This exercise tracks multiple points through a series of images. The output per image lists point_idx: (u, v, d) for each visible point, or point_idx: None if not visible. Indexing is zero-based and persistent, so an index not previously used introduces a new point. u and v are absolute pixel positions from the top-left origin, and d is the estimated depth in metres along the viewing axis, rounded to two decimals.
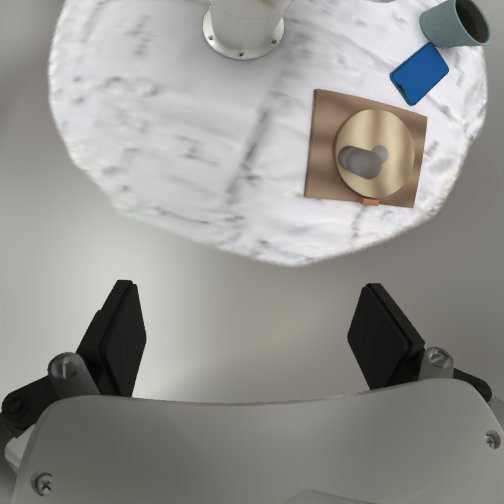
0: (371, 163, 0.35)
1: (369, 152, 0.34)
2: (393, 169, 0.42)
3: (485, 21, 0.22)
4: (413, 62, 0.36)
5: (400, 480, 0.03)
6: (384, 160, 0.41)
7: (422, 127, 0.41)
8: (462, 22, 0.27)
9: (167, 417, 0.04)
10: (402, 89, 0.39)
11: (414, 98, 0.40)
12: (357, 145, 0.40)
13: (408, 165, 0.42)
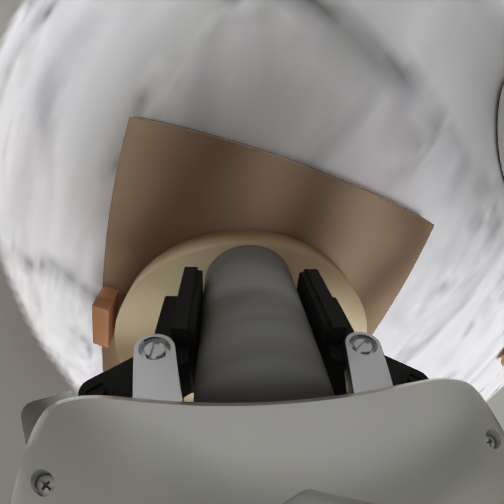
0: None
1: None
2: None
3: None
4: None
5: (400, 480, 0.03)
6: None
7: None
8: None
9: (167, 417, 0.04)
10: None
11: None
12: None
13: None
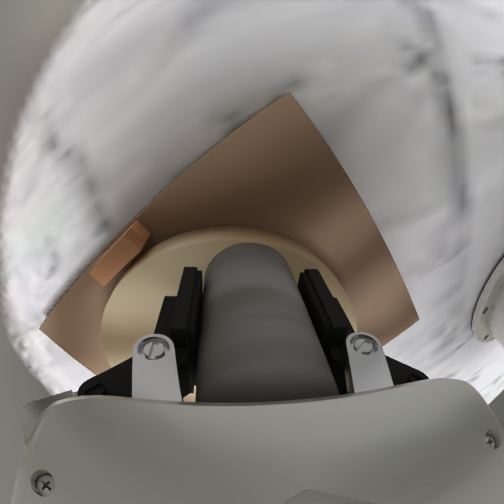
0: None
1: None
2: None
3: None
4: None
5: (400, 480, 0.03)
6: None
7: None
8: None
9: (167, 417, 0.04)
10: None
11: None
12: None
13: None
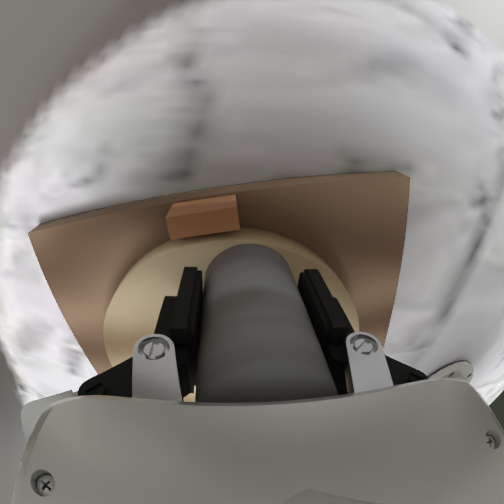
0: None
1: None
2: None
3: None
4: None
5: (400, 480, 0.03)
6: None
7: None
8: None
9: (167, 417, 0.04)
10: None
11: None
12: None
13: None
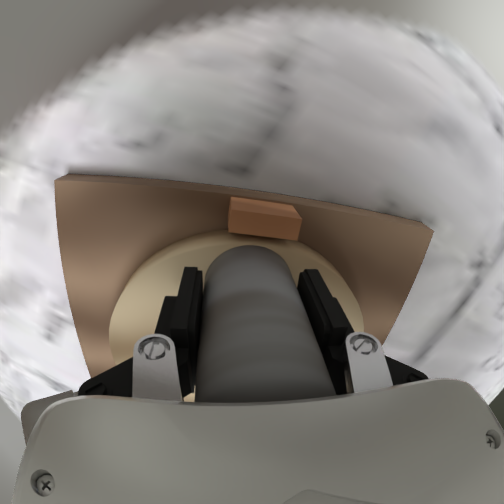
0: None
1: None
2: None
3: None
4: None
5: (400, 480, 0.03)
6: None
7: None
8: None
9: (167, 417, 0.04)
10: None
11: None
12: None
13: None
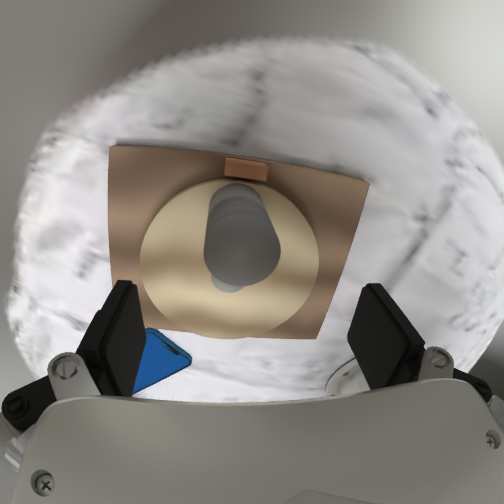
0: (244, 260, 0.15)
1: (275, 259, 0.15)
2: (193, 297, 0.24)
3: None
4: (153, 377, 0.33)
5: (400, 480, 0.03)
6: (216, 283, 0.23)
7: None
8: None
9: (167, 417, 0.04)
10: (171, 349, 0.31)
11: (146, 340, 0.30)
12: None
13: (197, 326, 0.26)
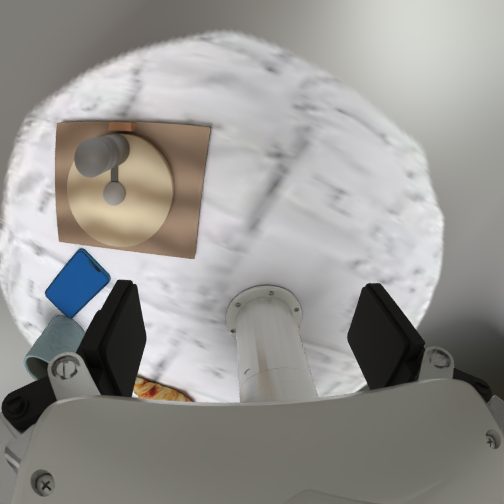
0: (91, 162, 0.24)
1: (105, 160, 0.24)
2: (96, 212, 0.33)
3: (33, 375, 0.36)
4: (85, 296, 0.42)
5: (400, 480, 0.03)
6: (106, 198, 0.32)
7: (62, 228, 0.36)
8: None
9: (167, 417, 0.04)
10: (94, 266, 0.40)
11: (79, 258, 0.39)
12: (128, 163, 0.31)
13: (100, 235, 0.35)
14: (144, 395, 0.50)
